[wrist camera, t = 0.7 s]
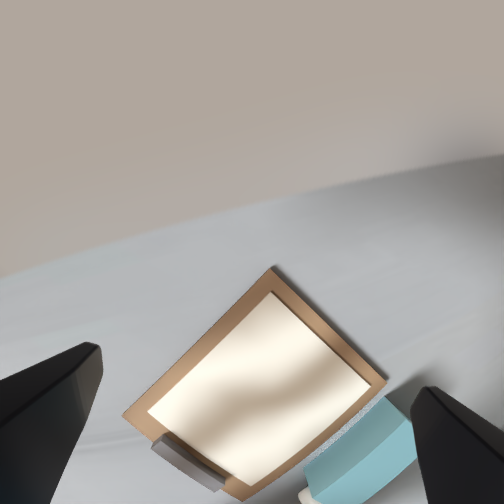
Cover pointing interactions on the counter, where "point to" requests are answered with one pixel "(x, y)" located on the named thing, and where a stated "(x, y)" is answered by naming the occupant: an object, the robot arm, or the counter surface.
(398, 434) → the light blue block
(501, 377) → the counter surface
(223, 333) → the clipboard
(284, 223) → the counter surface
